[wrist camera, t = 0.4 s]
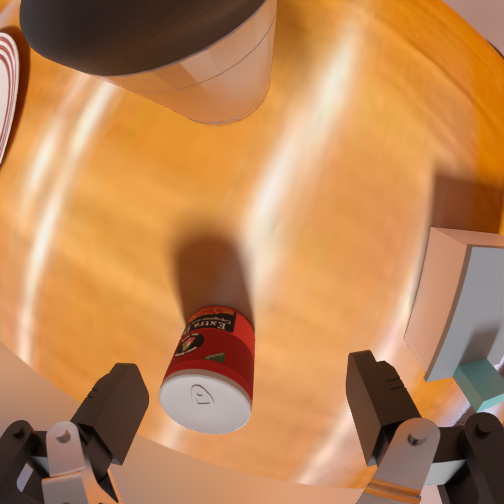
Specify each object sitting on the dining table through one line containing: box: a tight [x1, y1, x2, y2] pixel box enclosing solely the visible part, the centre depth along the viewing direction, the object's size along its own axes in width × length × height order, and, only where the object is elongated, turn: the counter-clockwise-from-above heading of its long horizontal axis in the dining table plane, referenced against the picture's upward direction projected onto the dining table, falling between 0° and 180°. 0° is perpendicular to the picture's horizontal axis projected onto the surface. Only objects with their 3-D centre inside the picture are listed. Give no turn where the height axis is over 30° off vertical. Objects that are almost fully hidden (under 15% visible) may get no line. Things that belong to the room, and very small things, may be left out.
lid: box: [424, 244, 504, 413], centre depth 18 cm, size 15×13×8 cm
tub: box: [404, 227, 504, 373], centre depth 24 cm, size 14×12×7 cm
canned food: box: [159, 305, 255, 434], centre depth 25 cm, size 8×8×11 cm
